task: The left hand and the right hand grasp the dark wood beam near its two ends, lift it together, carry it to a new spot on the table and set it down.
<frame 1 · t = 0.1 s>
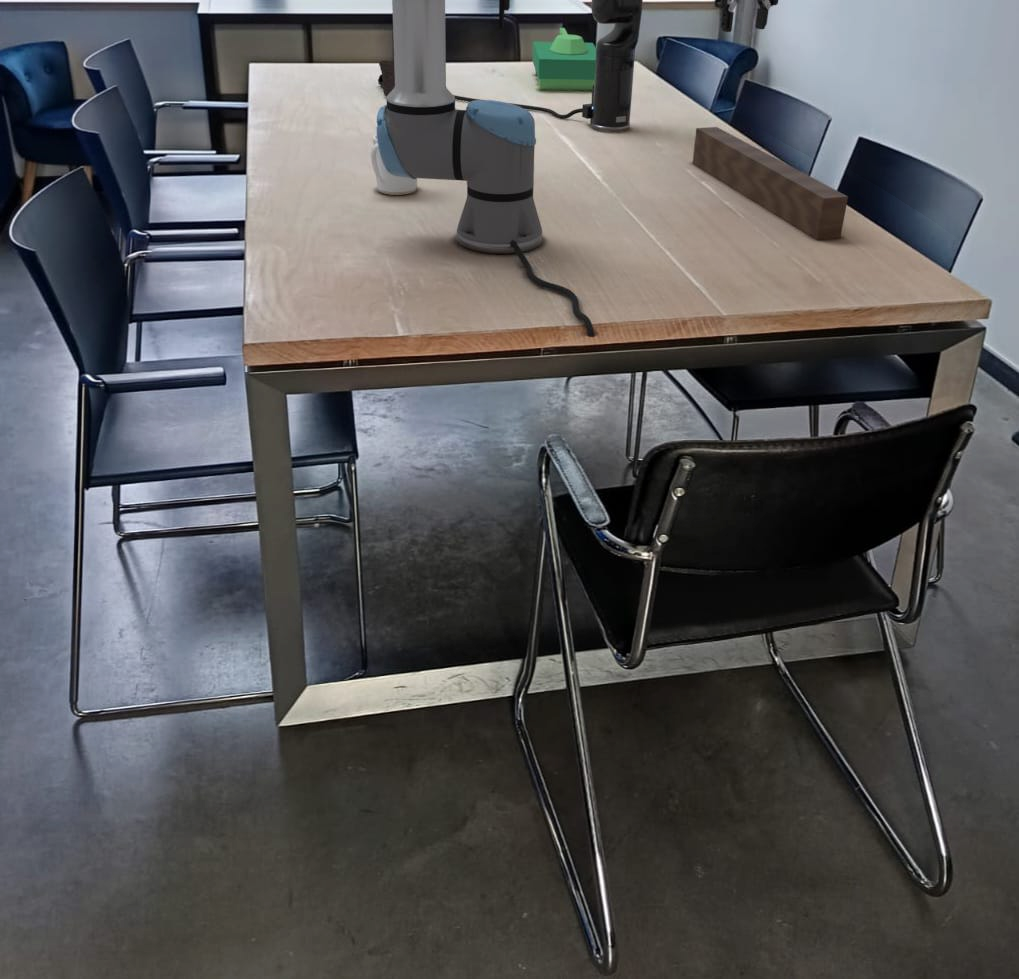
left hand: (468, 26, 224), 28 cm above the table, tool pointing down, fingers open, 13 cm apart
right hand: (743, 30, 221), 29 cm above the table, tool pointing down, fingers open, 8 cm apart
mug: (393, 191, 220), on the table
beam: (759, 197, 222), on the table
axe head: (403, 91, 300), on the table
toy tank: (564, 79, 318), on the table
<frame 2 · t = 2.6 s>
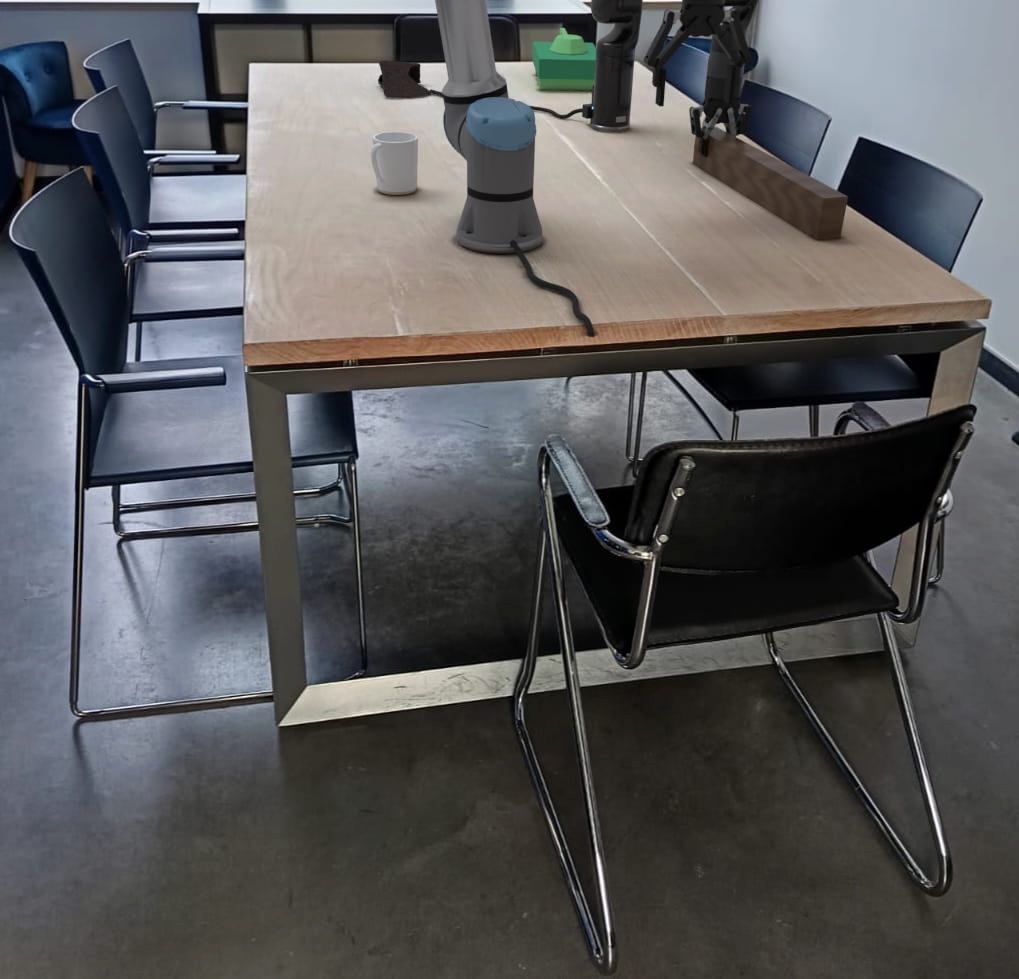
left hand: (693, 103, 207), 19 cm above the table, tool pointing down, fingers open, 13 cm apart
right hand: (715, 155, 237), 3 cm above the table, tool pointing down, fingers closed on beam, 5 cm apart
beam: (759, 197, 222), on the table, touching right hand
everything else where it was.
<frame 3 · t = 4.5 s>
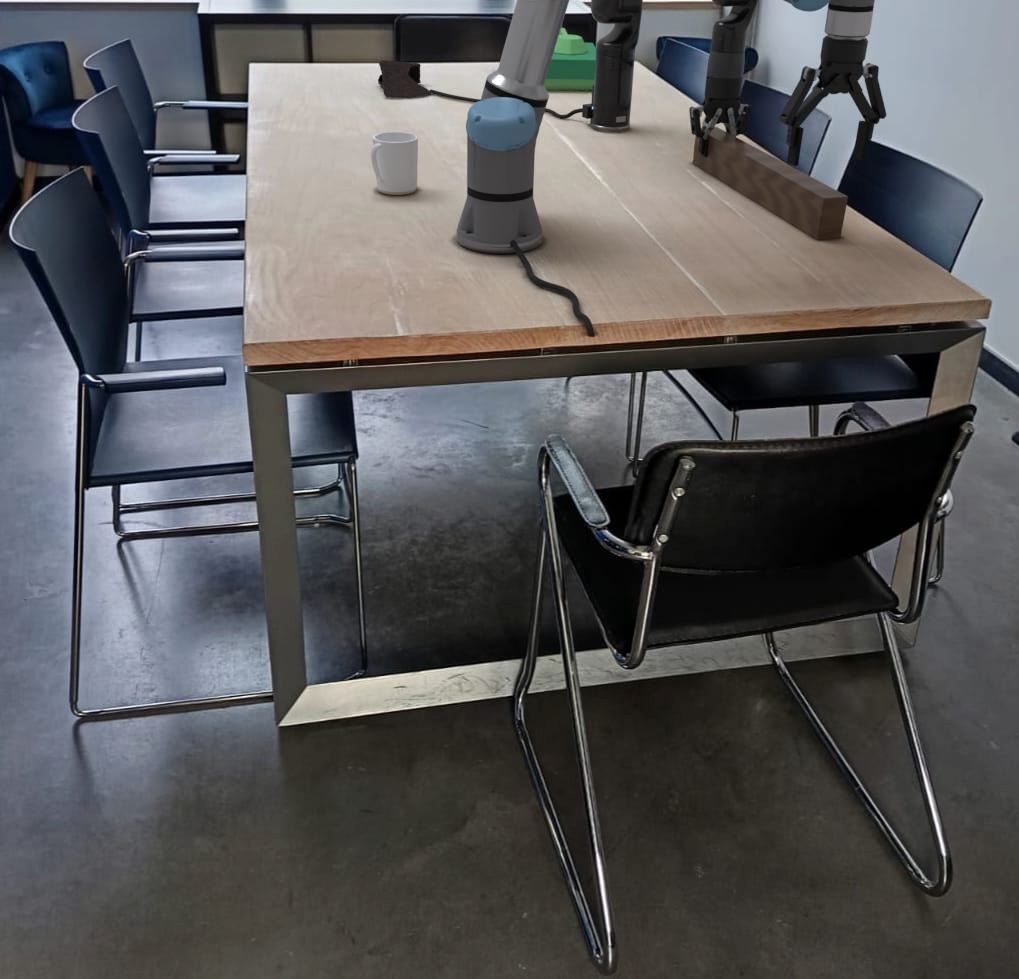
left hand: (825, 161, 198), 13 cm above the table, tool pointing down, fingers open, 13 cm apart
right hand: (715, 155, 237), 3 cm above the table, tool pointing down, fingers closed on beam, 5 cm apart
beam: (759, 197, 222), on the table, touching right hand
everything else where it was.
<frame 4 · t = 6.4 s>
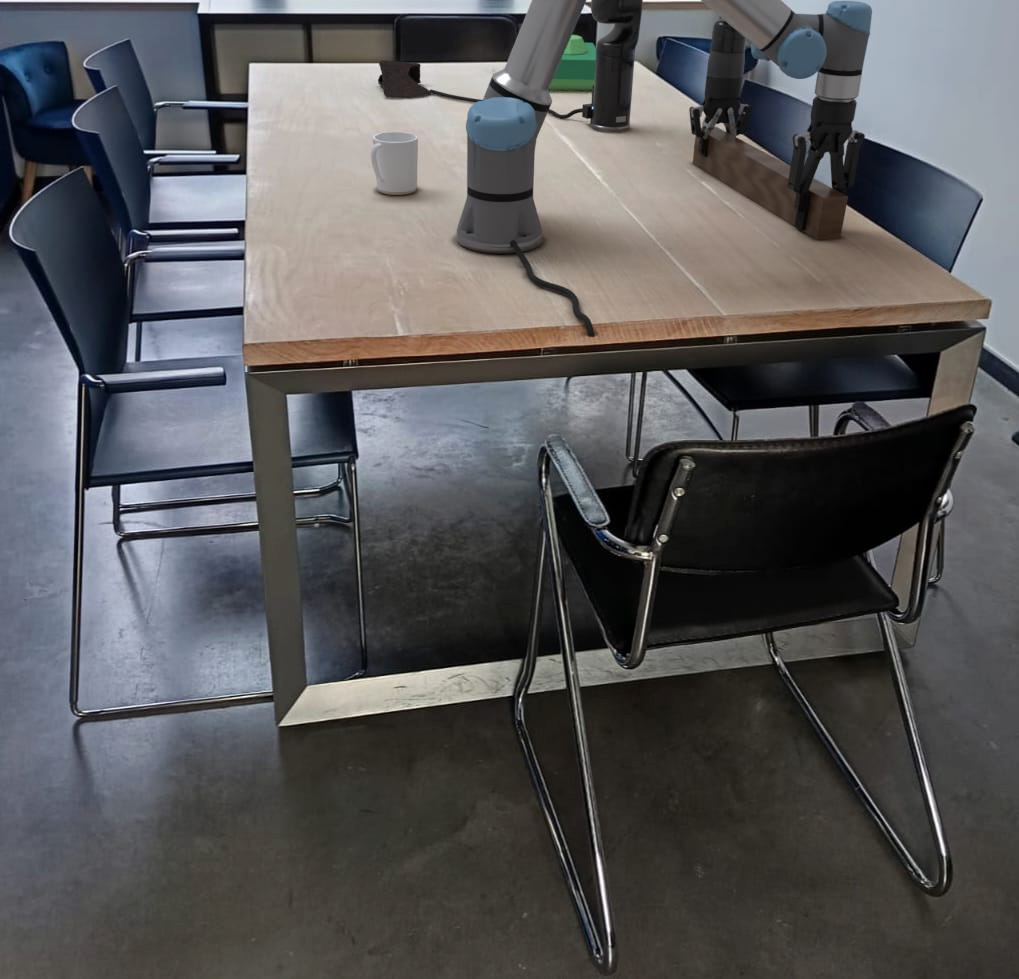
left hand: (813, 226, 204), 1 cm above the table, tool pointing down, fingers closed on beam, 5 cm apart
right hand: (715, 154, 237), 3 cm above the table, tool pointing down, fingers closed on beam, 5 cm apart
beam: (759, 197, 222), on the table, touching left hand, right hand
everything else where it was.
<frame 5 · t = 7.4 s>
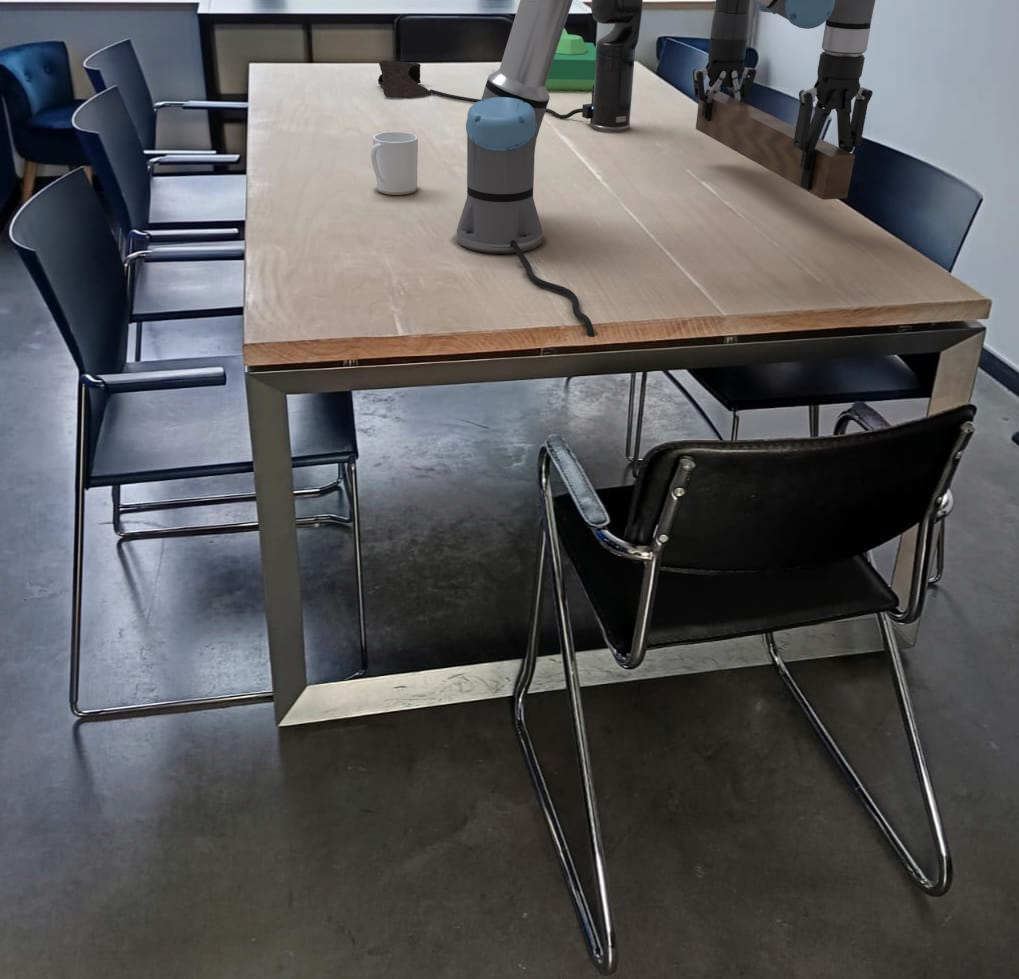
left hand: (819, 186, 201), 8 cm above the table, tool pointing down, fingers closed on beam, 5 cm apart
right hand: (718, 119, 233), 11 cm above the table, tool pointing down, fingers closed on beam, 5 cm apart
beam: (764, 160, 218), point 7 cm above the table, touching left hand, right hand
everything else where it was.
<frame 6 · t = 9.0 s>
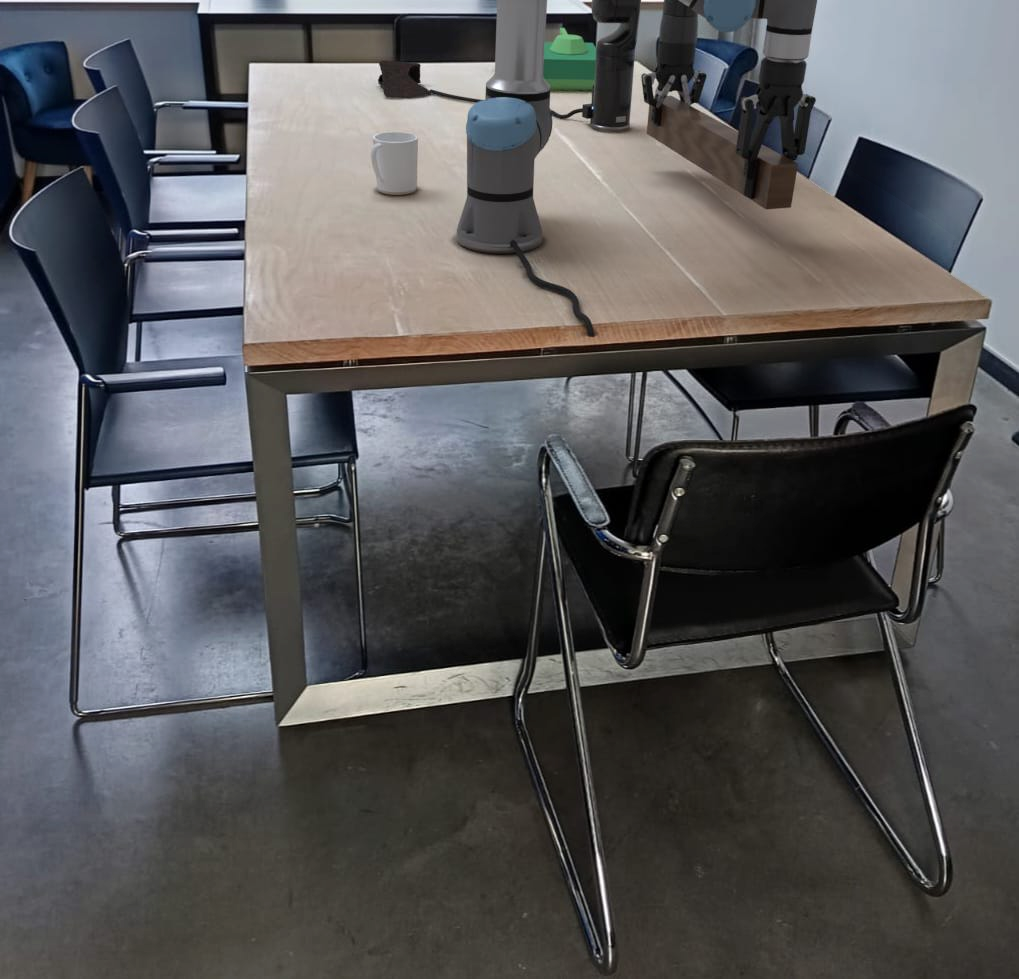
left hand: (763, 195, 196), 8 cm above the table, tool pointing down, fingers closed on beam, 5 cm apart
right hand: (669, 124, 228), 11 cm above the table, tool pointing down, fingers closed on beam, 5 cm apart
beam: (711, 167, 213), point 7 cm above the table, touching left hand, right hand
everything else where it was.
when the left hand's fingers open (1 cm above the table, at t = 12.1 s): beam stays where it is, on the table.
when the right hand's fingers open (4 cm above the table, at t = 12.3 s): beam stays where it is, on the table.
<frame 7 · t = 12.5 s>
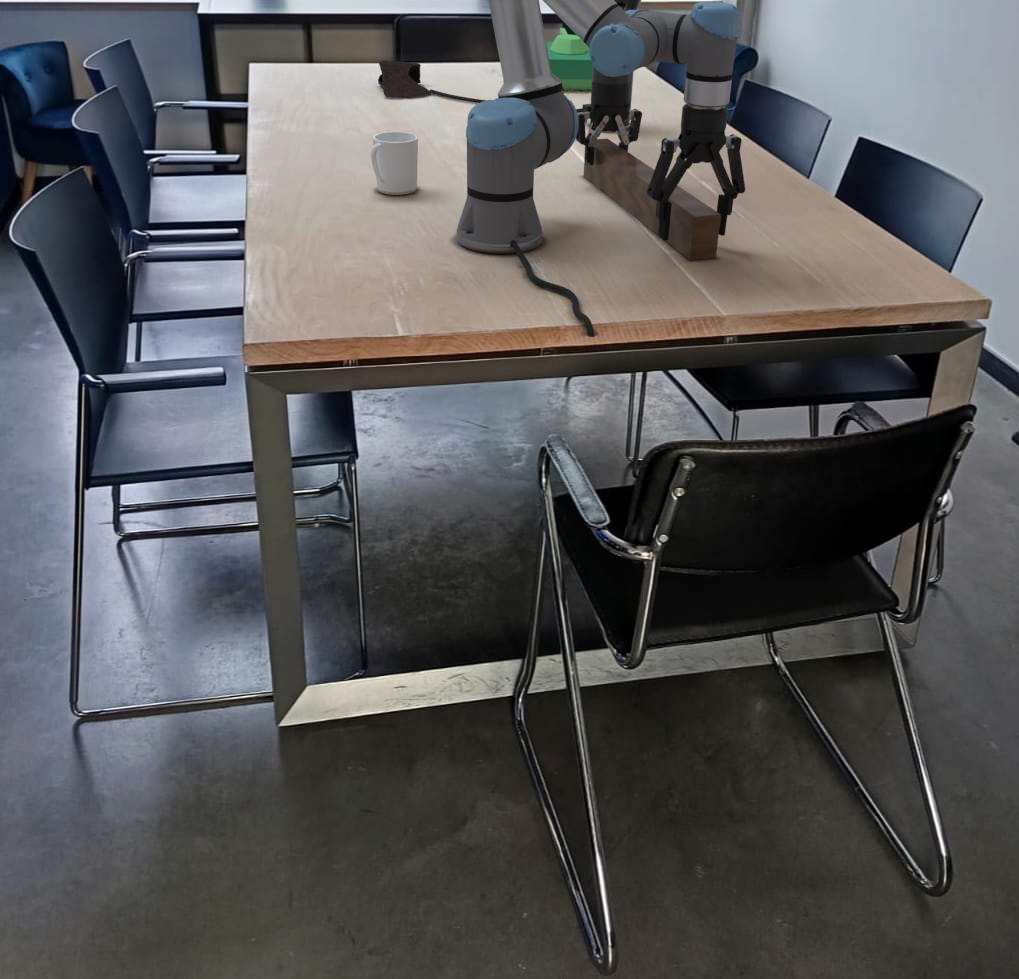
left hand: (691, 235, 192), 3 cm above the table, tool pointing down, fingers open, 10 cm apart
right hand: (605, 163, 226), 4 cm above the table, tool pointing down, fingers open, 6 cm apart
beam: (643, 213, 211), on the table
everything else where it was.
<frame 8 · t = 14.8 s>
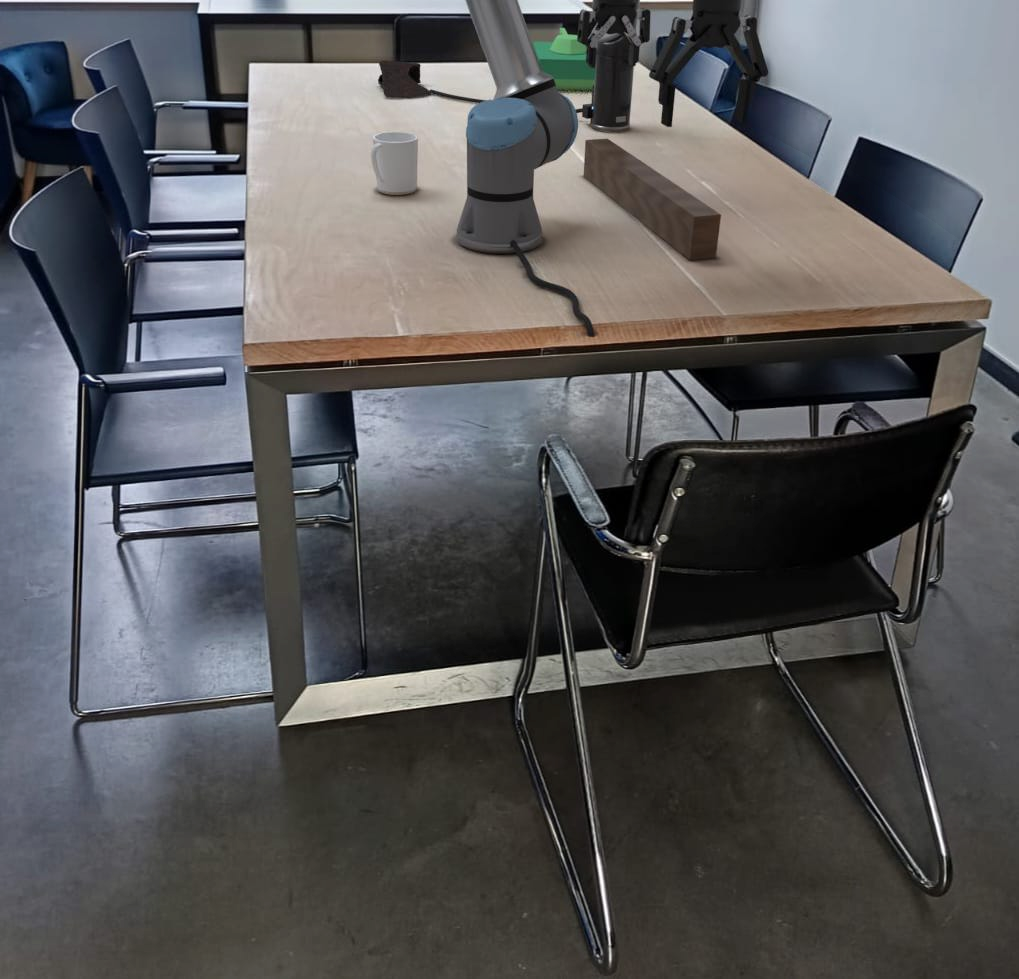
left hand: (703, 123, 182), 22 cm above the table, tool pointing down, fingers open, 13 cm apart
right hand: (611, 66, 216), 23 cm above the table, tool pointing down, fingers open, 8 cm apart
nothing on the table moved.
at the end: beam inside the target area (0.4 cm from its centre), on the table; beam tilted 0°; beam never tilted more than 1° during the clip; both hands held the beam at the same time; the left hand is holding nothing; the right hand is holding nothing; beam at rest at the end (0.0 cm/s) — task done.
